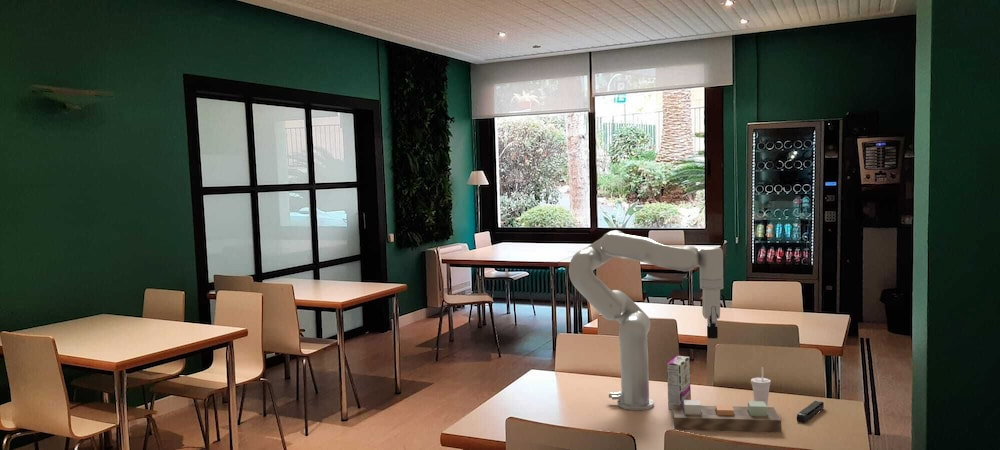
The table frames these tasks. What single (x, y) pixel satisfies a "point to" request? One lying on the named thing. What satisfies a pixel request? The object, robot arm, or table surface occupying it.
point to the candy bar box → (678, 381)
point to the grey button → (692, 407)
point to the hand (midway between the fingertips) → (712, 337)
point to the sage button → (757, 408)
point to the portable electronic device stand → (810, 411)
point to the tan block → (724, 410)
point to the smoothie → (761, 388)
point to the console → (726, 420)
